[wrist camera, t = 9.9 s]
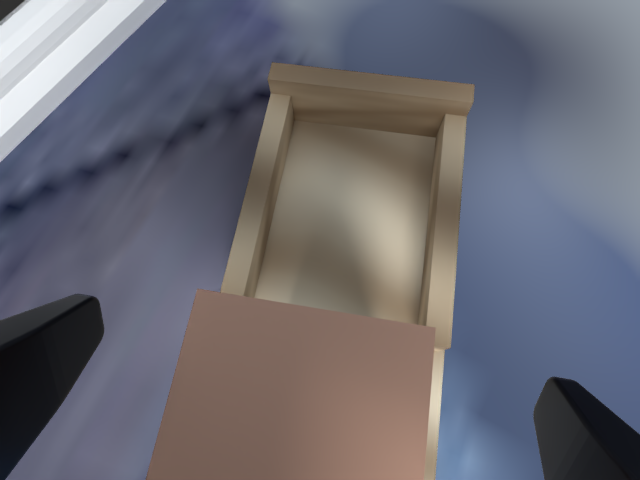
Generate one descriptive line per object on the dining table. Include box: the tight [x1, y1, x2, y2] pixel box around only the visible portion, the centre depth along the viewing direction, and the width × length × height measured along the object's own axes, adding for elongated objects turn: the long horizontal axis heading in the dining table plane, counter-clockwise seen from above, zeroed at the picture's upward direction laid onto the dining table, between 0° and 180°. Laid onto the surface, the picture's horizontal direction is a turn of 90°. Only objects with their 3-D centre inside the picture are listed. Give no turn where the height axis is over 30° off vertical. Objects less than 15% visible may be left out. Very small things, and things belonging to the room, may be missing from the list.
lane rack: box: [220, 62, 474, 480], centre depth 18 cm, size 19×10×4 cm, turn 170°
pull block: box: [146, 289, 436, 480], centre depth 12 cm, size 4×4×11 cm
